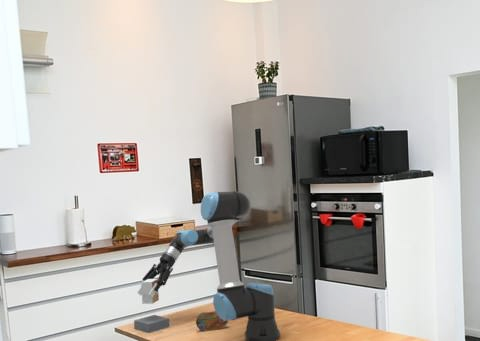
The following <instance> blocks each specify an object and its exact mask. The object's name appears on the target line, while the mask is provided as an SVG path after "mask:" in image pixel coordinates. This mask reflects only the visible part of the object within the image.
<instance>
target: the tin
mask: <svg viewBox="0 0 480 341" xmlns="http://www.w3.org/2000/svg"><path fill="white" fill-rule="evenodd" d="M228 321H229V320H227V321H226V320H222V319H221V318H220V317H219V316H218V315H217V313H216V311H215V310H212V311H204V312H201V313H199V314H198V315H197V317H196V319H195V324H196V328H198V329H199V330H200V331H202V332H209V331H210V332H211V331H216V330H221V329H224V328H225V327H226V326H227V325H228Z"/></svg>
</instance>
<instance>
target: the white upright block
mask: <svg viewBox="0 0 480 341" xmlns="http://www.w3.org/2000/svg"><path fill="white" fill-rule="evenodd" d="M158 279H159V278H153V279H147V280H145V281H141V285H142V295H141V301H142V303H141V304H143V305H144V304H145V305H146V304H147V305H149V304H150V305H151V304H153V305H154V304H155V303H156V302H158V301H160V300H159V299H160V298H159V296H160V295H159V290H158V291H157V292H156V294H155V295H154V297H153V298H151V297H150V296H149V295H148V294H149V293H150V291H151V290H152V288H153V286H154V285H155V283H157V281H158ZM157 284H158V283H157ZM141 285H140V286H141Z"/></svg>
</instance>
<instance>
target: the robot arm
mask: <svg viewBox="0 0 480 341" xmlns="http://www.w3.org/2000/svg"><path fill="white" fill-rule="evenodd" d="M250 211H251V203H250V199H249V197H247V195H246V194H245V193H243V192H240V191H214V192H208V193H206V194H205V195H204V196H203V198H202V200H201V203H200V215H201V217H202V219H203V220H204V221H207V225H208V227H207V228H203V229H195V230H194V229H190V228H189V229H187V230H184V229H180V230H179V229H178V231H177V232H176V233H175V235H174V236H173V239H172V240H171V241H170V243H169V245H168V246H167V247H166V249H165V251H164V252H163V253H162V255H161V256H160V258H159V263H157V264H156V263H153V265H152V267H151V268H150V269H149V271H148V272H146V273H145V275H144V277H143V278H142V280H143V281H145V280H147V279H155V278H156V276H158V278H157V279H158V281H157V283H158V284H157V283H155V285H154V286H153V288H152V290H151V291H150V293H149V294H148V295H149V296H150V297H151V298H153V297H154V295H155V294H156V292H157V291H158V292H159V289H160V288H161V287H162V286H166V284H167V281H168V279H169V277H170V275H171V273H172V271H173V270H174V268H173V267H174V265H175V263H176V262H177V260H178V258H179V257H180V255H181V254H182V253H183V251H184V249H186V248H188V247H191V246H200V245H208V244H214V251H215V259H216V267H217V272H218V273H217V274H218V279H219V285H218V286H217V288H216V291H217V292H216V293H214V295H213V299H212V300H213V301H212V302H213V308H214V311H216V313H217V315H218V316H219V317H220V318H221V319H222V320H226V321H227V320H228V321H234V320H238V319H241V318H246V317H247V324H246V327H245V328H246V329H245V332H244V339H245V340H246V341H273V340H275V341H277V340H279V339H280V338H281V332H280V329H279V327H278V325H277V321H276V318H275V317H276V316H275V299H274V296H275V294H274V288H273V286H272V285H271V284H268V283H262V282H249V283H248V282H247V283H246V285H245V283H244V282H242V281H241V280H240V274H239V273H240V272H239V267H238V266H239V265H238V260H237V253H236V247H235V240H234V234H233V227H232V226H234V225H235V224H236V223H237V222H238V221H242V220H243V219H244V218H246V217H247V216H248V215H249V213H250ZM143 281H142V282H143ZM136 293H137V294H138V295H139V296H142V285H140V286H139V289H138V290H137V292H136ZM279 337H280V338H279ZM278 338H279V339H278ZM276 339H277V340H276Z"/></svg>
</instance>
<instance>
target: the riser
mask: <svg viewBox="0 0 480 341" xmlns="http://www.w3.org/2000/svg"><path fill="white" fill-rule="evenodd" d="M133 324H134V329H135V330H137V331H141V332H143V333H147V334H150V333H153V331H154V332H157V331H160V330H163V329H165V328H170V318H169V317H165V316H160V315H157V314H152V315H150V316H145V317H141V318H139V319H134V320H133Z"/></svg>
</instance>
